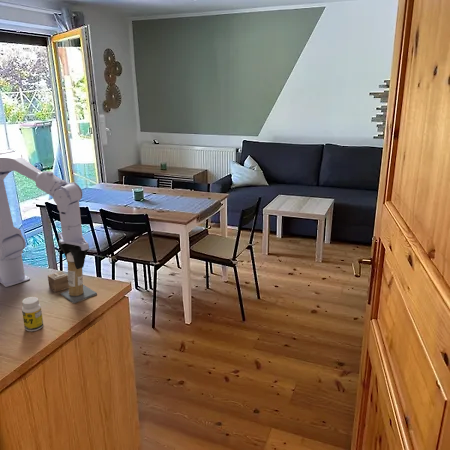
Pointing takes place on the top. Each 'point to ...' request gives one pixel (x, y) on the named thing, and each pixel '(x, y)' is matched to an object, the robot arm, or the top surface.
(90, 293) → the grey mat
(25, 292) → the top surface
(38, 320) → the supplement bottle
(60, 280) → the walnut block
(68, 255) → the sprinkles bottle
